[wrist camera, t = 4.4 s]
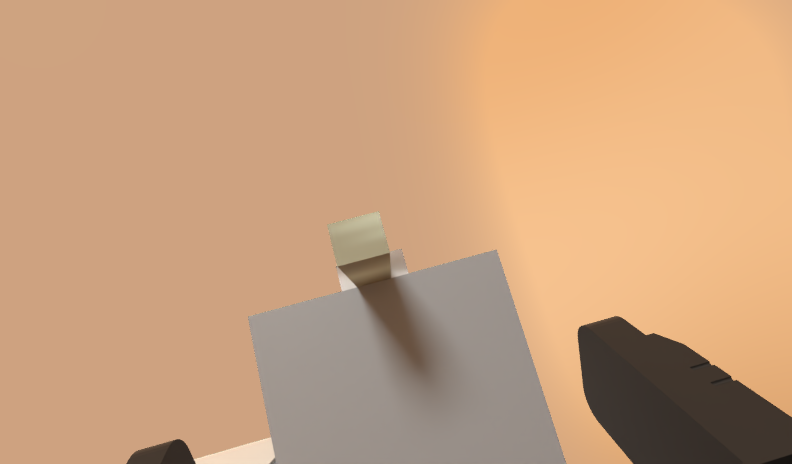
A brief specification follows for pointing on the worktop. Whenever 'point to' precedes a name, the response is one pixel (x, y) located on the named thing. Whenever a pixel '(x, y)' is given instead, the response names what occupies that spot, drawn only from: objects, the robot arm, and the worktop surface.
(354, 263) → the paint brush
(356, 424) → the step shelf
